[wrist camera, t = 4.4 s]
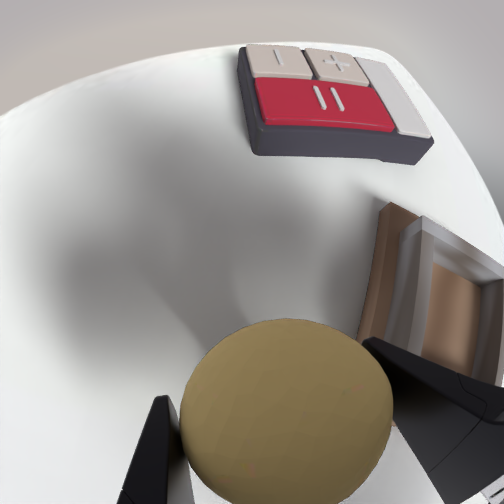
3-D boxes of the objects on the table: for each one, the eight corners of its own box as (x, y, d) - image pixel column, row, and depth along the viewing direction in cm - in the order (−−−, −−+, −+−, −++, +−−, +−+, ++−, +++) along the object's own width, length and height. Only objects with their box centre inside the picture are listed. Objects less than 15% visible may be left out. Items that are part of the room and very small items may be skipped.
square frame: (481, 267, 20) (513, 252, 16) (459, 429, 15) (496, 432, 11) (379, 211, 20) (410, 182, 16) (333, 414, 14) (369, 427, 11)
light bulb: (171, 420, 13) (126, 508, 4) (220, 316, 15) (245, 252, 6) (281, 460, 13) (370, 554, 4) (324, 360, 15) (458, 350, 6)
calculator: (239, 39, 20) (388, 58, 22) (235, 75, 24) (374, 87, 26) (258, 122, 16) (441, 138, 18) (251, 164, 20) (416, 166, 22)
